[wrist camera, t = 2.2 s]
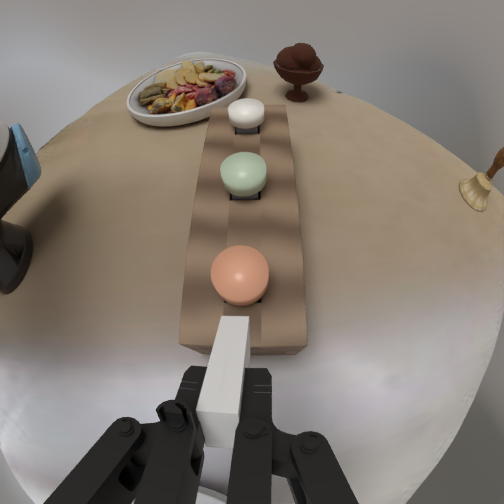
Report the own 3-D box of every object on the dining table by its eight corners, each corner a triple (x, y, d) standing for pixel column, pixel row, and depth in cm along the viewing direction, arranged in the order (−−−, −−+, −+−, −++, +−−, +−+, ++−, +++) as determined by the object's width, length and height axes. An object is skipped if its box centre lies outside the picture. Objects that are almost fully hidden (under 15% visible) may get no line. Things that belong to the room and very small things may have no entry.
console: (295, 354, 33) (307, 345, 24) (202, 353, 33) (178, 343, 24) (283, 148, 49) (285, 104, 40) (219, 149, 49) (211, 107, 40)
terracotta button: (268, 315, 28) (269, 299, 22) (220, 315, 28) (208, 299, 23) (268, 270, 30) (268, 245, 24) (222, 270, 30) (212, 245, 25)
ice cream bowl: (323, 91, 58) (329, 40, 44) (313, 112, 54) (319, 54, 40) (283, 82, 60) (283, 32, 47) (268, 102, 56) (266, 46, 42)
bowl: (110, 125, 58) (99, 102, 51) (178, 69, 69) (173, 49, 62) (204, 144, 51) (197, 113, 44) (267, 79, 62) (266, 54, 55)
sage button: (267, 216, 33) (266, 184, 28) (225, 217, 33) (218, 185, 28) (266, 184, 35) (265, 151, 30) (228, 185, 35) (222, 152, 30)
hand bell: (489, 215, 40) (529, 169, 26) (463, 206, 41) (504, 154, 27) (480, 185, 44) (513, 139, 30) (455, 176, 45) (487, 124, 31)
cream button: (265, 148, 38) (264, 116, 33) (231, 149, 38) (226, 118, 33) (264, 128, 40) (263, 97, 35) (233, 129, 41) (229, 99, 35)
